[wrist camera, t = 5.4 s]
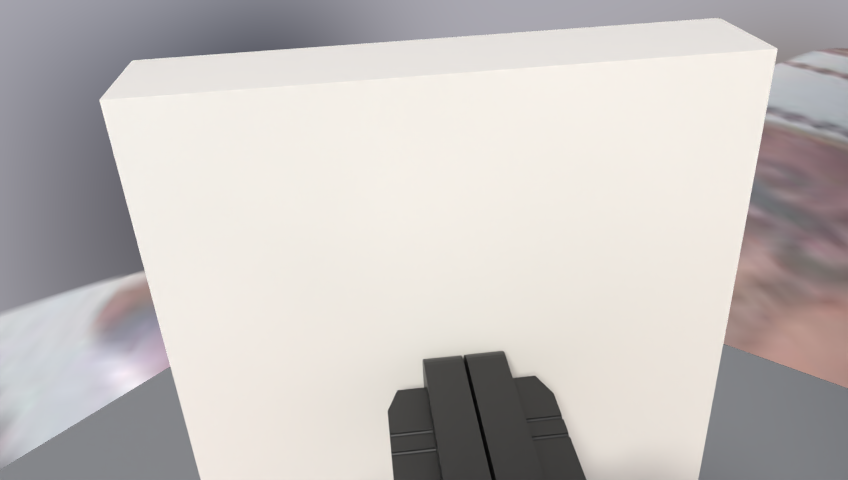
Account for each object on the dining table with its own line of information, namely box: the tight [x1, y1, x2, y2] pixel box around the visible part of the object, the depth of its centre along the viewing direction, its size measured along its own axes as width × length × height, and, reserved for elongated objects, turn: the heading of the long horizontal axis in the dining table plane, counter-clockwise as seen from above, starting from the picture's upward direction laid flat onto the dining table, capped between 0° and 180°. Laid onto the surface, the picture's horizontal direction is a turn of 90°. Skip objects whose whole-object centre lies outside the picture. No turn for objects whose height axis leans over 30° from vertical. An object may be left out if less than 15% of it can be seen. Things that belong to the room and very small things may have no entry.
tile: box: [100, 18, 777, 480], centre depth 16 cm, size 2×10×14 cm, turn 96°
